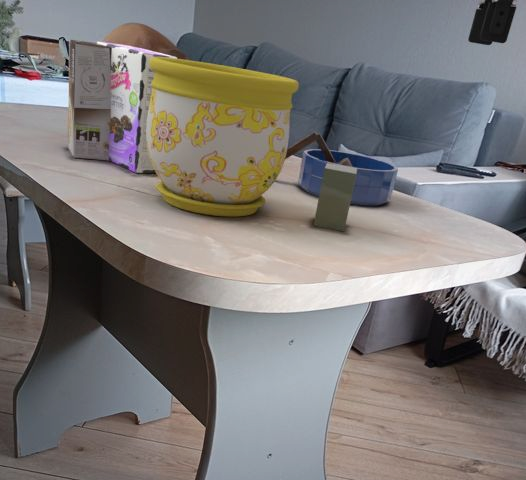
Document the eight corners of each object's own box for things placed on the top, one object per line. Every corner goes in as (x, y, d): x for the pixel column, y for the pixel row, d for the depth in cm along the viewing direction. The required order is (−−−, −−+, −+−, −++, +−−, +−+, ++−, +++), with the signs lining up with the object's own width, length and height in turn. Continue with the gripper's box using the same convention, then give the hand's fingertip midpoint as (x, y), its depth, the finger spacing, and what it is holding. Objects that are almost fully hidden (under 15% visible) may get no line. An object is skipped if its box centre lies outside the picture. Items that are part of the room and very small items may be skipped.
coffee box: (115, 161, 96) (120, 48, 89) (72, 158, 94) (74, 41, 86) (106, 149, 103) (110, 44, 96) (66, 146, 101) (67, 37, 94)
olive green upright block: (345, 223, 83) (357, 168, 80) (344, 231, 79) (356, 173, 76) (316, 218, 83) (326, 162, 80) (313, 225, 79) (324, 167, 76)
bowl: (388, 193, 107) (395, 161, 105) (390, 212, 93) (399, 176, 91) (302, 177, 108) (308, 145, 106) (292, 194, 94) (299, 157, 92)
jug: (90, 151, 100) (232, 182, 121) (126, 26, 91) (273, 82, 112) (47, 103, 112) (183, 139, 132) (76, -11, 103) (217, 46, 123)
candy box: (91, 152, 99) (95, 39, 92) (124, 153, 103) (130, 44, 96) (134, 173, 90) (142, 50, 83) (169, 173, 94) (179, 55, 87)
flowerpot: (282, 201, 89) (302, 79, 82) (270, 233, 73) (294, 84, 66) (160, 179, 90) (170, 56, 82) (122, 206, 74) (130, 56, 66)
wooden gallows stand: (355, 168, 101) (329, 121, 99) (355, 173, 97) (328, 124, 94) (280, 213, 106) (254, 168, 104) (276, 219, 102) (249, 173, 99)
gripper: (586, -134, 65) (530, 46, 72) (543, -97, 80) (501, 48, 88) (514, -145, 65) (466, 35, 73) (486, -105, 81) (448, 40, 88)
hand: (485, 42), depth 80 cm, fingers open, 9 cm apart
